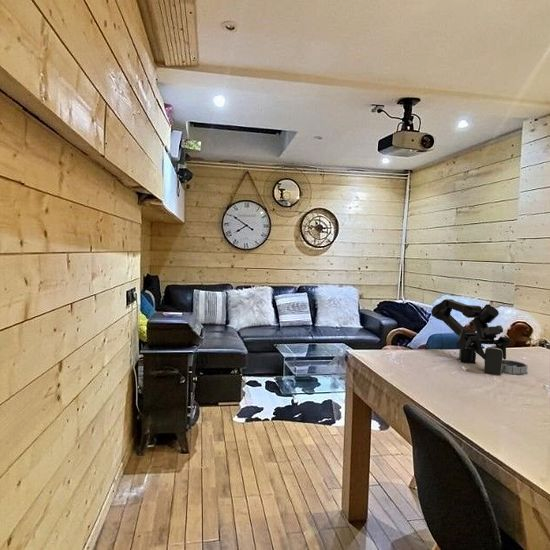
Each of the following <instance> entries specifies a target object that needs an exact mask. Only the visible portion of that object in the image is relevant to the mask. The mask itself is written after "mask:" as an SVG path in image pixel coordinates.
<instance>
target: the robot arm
mask: <svg viewBox="0 0 550 550" xmlns="http://www.w3.org/2000/svg"><path fill="white" fill-rule="evenodd" d="M430 311H431V316H432V317H433V318H435V319H436V320H439V321H442V322H444V324H445V325H446V326H447V327H449V328H450V329H451V331H452V332H453V333H455V334H456V336H457V337H458V341H457V342H456V343H455V345H456V349H459V350H458V351H459V353H458V355H459V356H458V358H457V360H458V359H459V360H460V361H461V363H468V364H469V363H470V364H476V359H477V355H478V356H480V357H481V358H482V359H483V360H484V359H486V356H485V350H484V349H483V347H482V345H495V348H500V349H501V350H502V352H503V360H507V347H508V346H509V345H510V344H511V343H512V340H511V337H509V336H499V337H498V339H496V338H497V335H501V334H503V333H504V328H503V326H502V325H499V324H498V325H496V326H491V325H490V326H489V325H488V324H491V323H492V322H493V321H494V320H495V319H496V318H497V317H498V316H499V315H500V314H499V313H500V312H499V310H498V309H496V308H495V307H494V306H492V305H491V304H490V303H489V304H485V305H484V307H483V308H482V306H480V305H473V304H470V305H469V304H465V303H462V302H460V301H456V300H454V299H452V298H451V299H449V298H445V299H443V300H442V301H441V302H439V303H437V304H436V305H434V306H433V307H432V308H431V310H430ZM453 311H457V312H459V313H461V314H462V316H464V317H466V318H468V319H471V321H470V322H469V326H471V327H473V328H474V329H467V328H465V327H464V326H463V325H462V324H461V323H460V322H459V321H457V320H456V319H455V317H453V316H452V314H451V313H452V312H453ZM459 360H458V361H459ZM460 361H459V362H460Z"/></svg>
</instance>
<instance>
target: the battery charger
mask: <svg viewBox="0 0 550 550" xmlns="http://www.w3.org/2000/svg"><path fill="white" fill-rule="evenodd" d="M484 353H485V356H486V359H483V360H484V365H483V368H484V369H483V373H485V374H490V375H499V376H501V375H502V372H501V368H502V360H504V359H503V352H502V350H501V349H500V348H498V347H494V346H492V347H491V346H487V347H486V348H485V350H484Z"/></svg>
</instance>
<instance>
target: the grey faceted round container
mask: <svg viewBox="0 0 550 550" xmlns="http://www.w3.org/2000/svg"><path fill="white" fill-rule="evenodd" d="M528 367H529V366H528V365H527V364H526V363H524V362H520V361H516V360H509V359H505V360H504V359H503V360H502V368H501V373H503V372H504V374H507V373H509V375H514V374H516V375H517V376H521V375H522V376H525V375H527V374H528ZM524 374H525V375H524Z"/></svg>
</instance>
